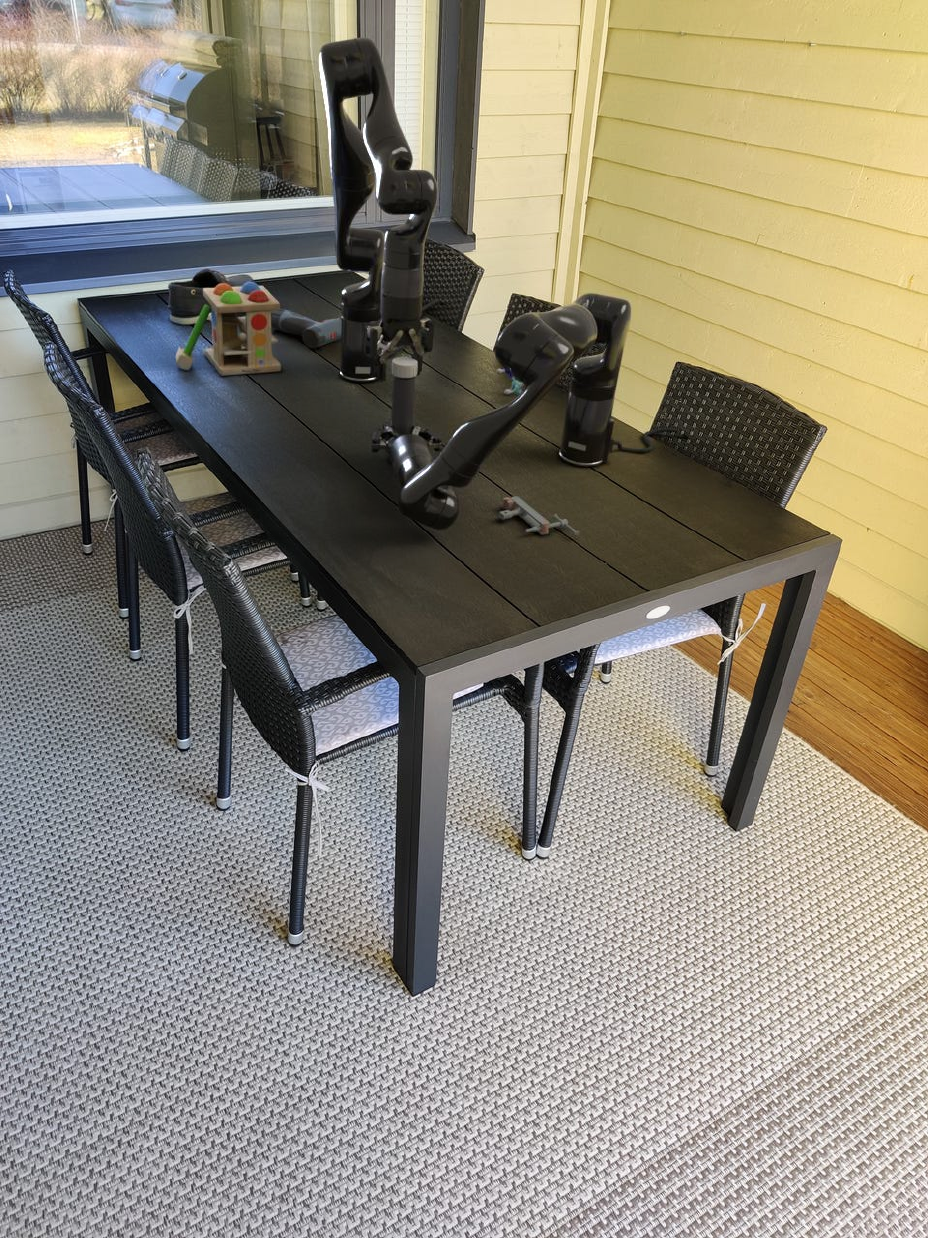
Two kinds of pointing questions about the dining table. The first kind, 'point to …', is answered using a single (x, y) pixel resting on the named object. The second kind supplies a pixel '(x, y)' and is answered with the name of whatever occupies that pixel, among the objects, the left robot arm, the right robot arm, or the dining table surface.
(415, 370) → the lid
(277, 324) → the power drill
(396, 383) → the bottle
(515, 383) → the molecular model
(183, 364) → the pounding bench toy
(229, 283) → the boat shoe
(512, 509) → the clamp
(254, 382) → the dining table surface
